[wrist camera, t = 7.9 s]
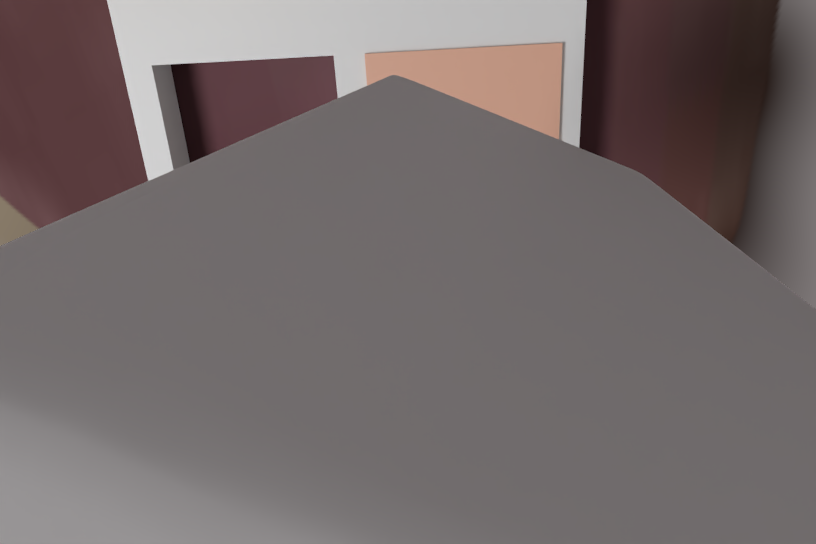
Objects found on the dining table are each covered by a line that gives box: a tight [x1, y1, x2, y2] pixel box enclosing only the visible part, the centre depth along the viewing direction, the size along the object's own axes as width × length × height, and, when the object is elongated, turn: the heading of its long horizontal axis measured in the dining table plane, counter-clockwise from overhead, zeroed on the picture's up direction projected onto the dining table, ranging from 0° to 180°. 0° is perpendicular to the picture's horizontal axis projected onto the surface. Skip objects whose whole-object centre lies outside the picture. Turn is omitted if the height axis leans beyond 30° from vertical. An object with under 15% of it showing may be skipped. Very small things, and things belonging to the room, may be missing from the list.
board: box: [107, 0, 587, 181], centre depth 31 cm, size 22×15×2 cm
